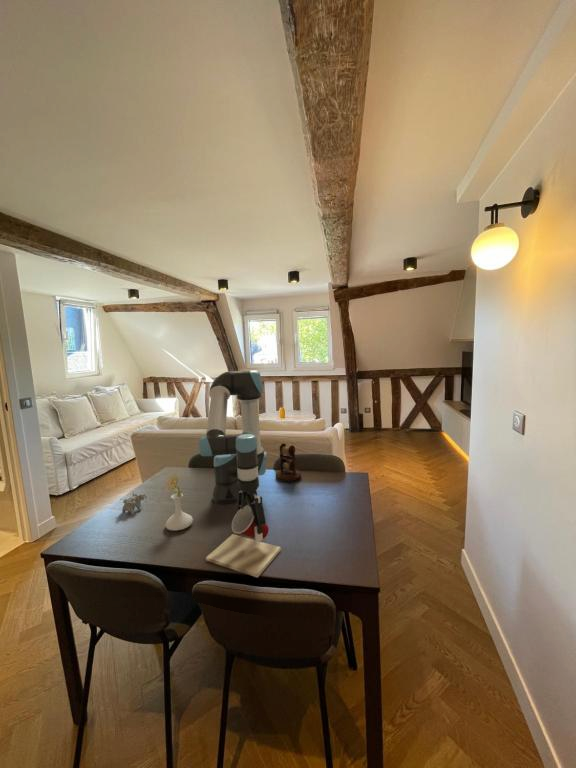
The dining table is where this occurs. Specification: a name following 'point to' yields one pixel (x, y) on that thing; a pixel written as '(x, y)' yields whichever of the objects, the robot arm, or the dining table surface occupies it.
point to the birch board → (244, 555)
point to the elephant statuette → (133, 503)
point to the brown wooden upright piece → (287, 464)
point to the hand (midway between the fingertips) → (251, 535)
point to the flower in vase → (177, 507)
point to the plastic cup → (246, 523)
